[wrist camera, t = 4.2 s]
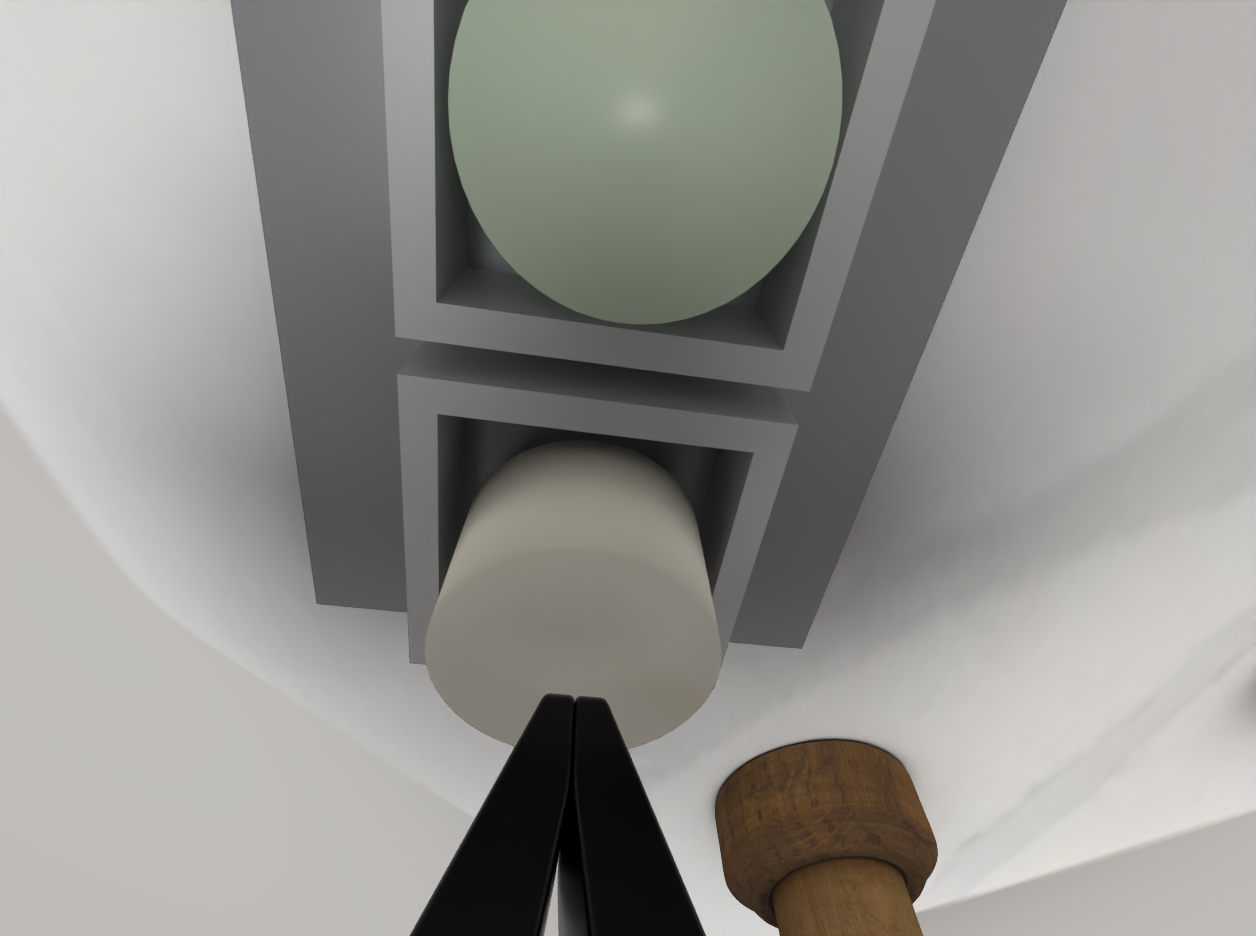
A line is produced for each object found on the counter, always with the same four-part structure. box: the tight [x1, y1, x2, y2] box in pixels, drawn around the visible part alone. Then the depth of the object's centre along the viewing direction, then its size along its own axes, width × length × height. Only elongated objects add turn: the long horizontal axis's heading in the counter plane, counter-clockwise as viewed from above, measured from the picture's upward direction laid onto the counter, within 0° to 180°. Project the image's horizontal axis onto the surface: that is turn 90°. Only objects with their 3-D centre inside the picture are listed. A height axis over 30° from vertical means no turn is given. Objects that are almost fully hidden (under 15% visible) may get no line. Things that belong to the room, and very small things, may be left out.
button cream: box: [425, 440, 722, 749], centre depth 11 cm, size 4×4×3 cm
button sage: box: [448, 0, 842, 325], centre depth 8 cm, size 4×4×3 cm
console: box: [231, 0, 1067, 689], centre depth 9 cm, size 12×22×3 cm, turn 172°
